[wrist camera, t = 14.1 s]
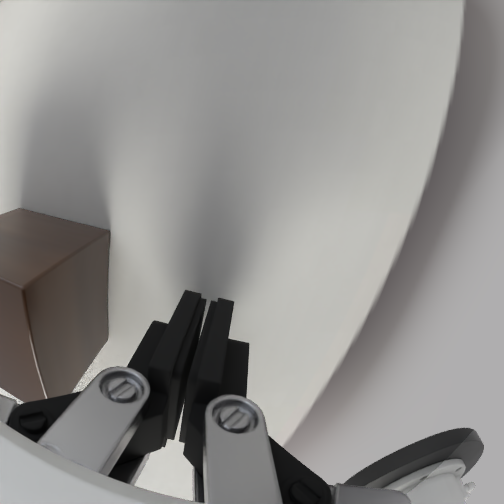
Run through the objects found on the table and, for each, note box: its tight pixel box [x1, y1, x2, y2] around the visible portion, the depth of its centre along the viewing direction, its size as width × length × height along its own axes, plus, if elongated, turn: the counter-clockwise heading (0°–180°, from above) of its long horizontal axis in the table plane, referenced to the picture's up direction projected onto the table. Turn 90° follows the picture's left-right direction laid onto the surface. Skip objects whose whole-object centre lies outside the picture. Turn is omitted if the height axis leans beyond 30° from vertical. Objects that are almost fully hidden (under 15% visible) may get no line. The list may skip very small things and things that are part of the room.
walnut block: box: [0, 208, 110, 403], centre depth 8 cm, size 5×5×5 cm
